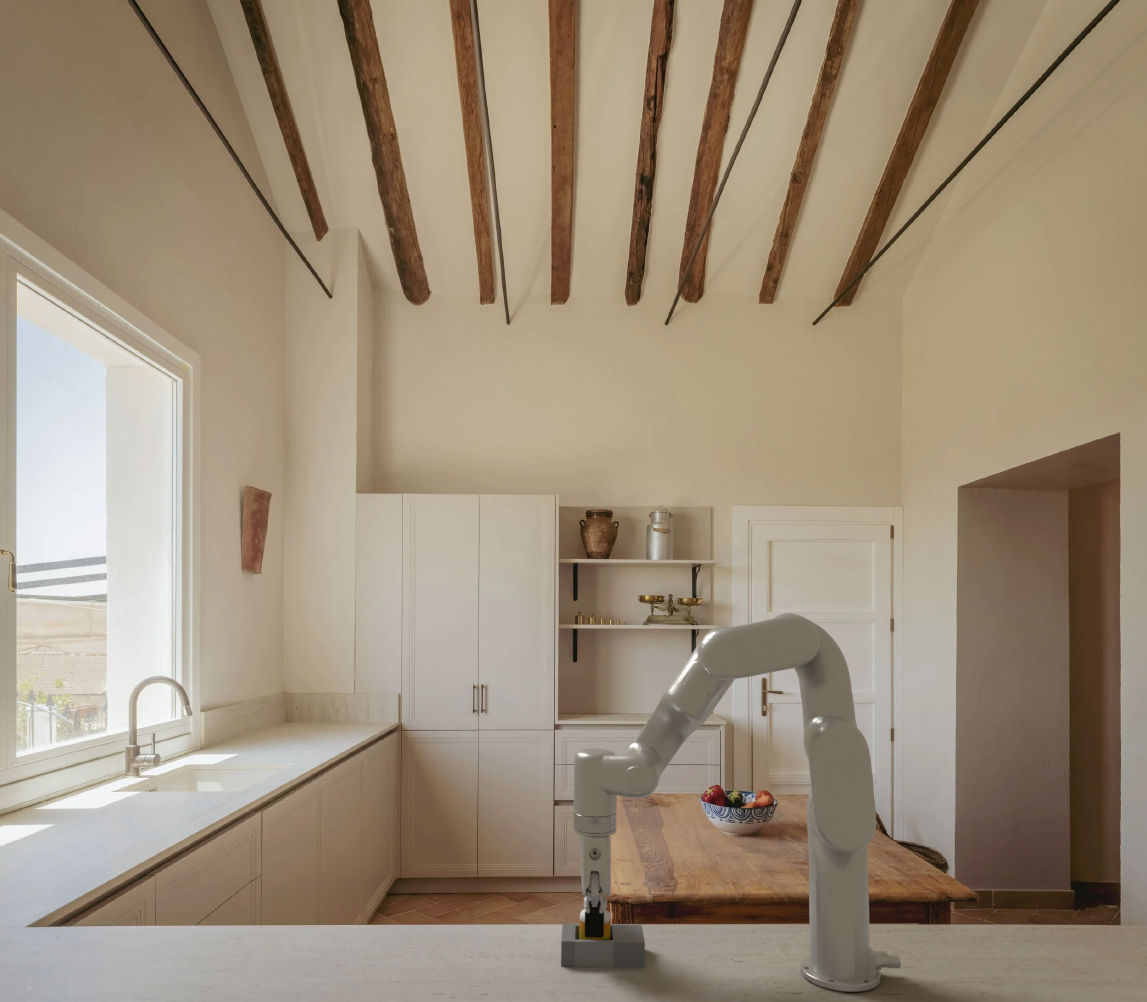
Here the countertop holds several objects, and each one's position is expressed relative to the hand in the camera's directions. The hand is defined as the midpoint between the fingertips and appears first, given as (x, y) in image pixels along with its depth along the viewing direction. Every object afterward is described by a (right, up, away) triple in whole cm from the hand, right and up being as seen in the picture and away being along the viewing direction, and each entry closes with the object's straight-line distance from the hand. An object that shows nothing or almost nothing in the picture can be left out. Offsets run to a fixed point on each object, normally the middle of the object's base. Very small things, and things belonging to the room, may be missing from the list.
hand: (593, 926), depth 153 cm
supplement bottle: (0, -5, -1) cm, 5 cm away
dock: (+1, -5, -1) cm, 5 cm away
